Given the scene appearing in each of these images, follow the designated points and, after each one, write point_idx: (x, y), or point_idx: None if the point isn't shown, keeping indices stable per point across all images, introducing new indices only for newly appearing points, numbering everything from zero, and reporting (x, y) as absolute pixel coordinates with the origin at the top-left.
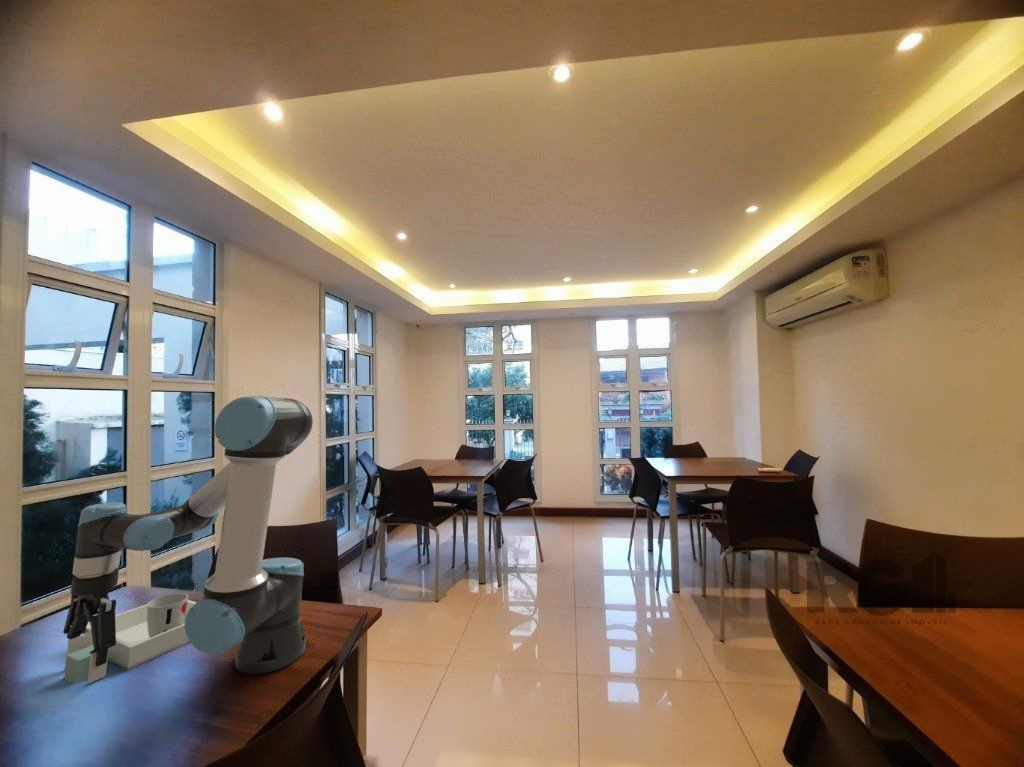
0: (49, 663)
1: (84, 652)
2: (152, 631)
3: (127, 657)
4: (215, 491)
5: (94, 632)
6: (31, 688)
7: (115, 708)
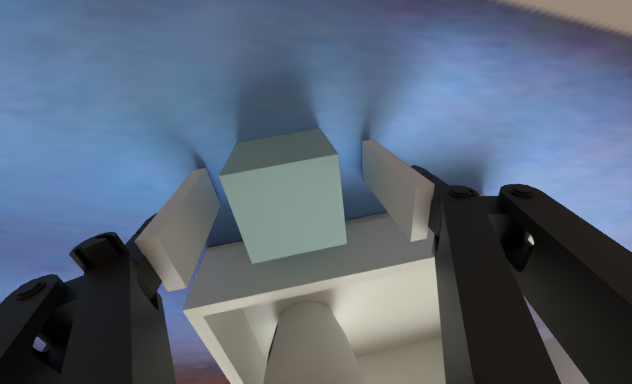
0: (470, 118)
1: (294, 205)
2: (290, 345)
3: (207, 273)
4: None
5: (62, 369)
6: (336, 37)
7: None
